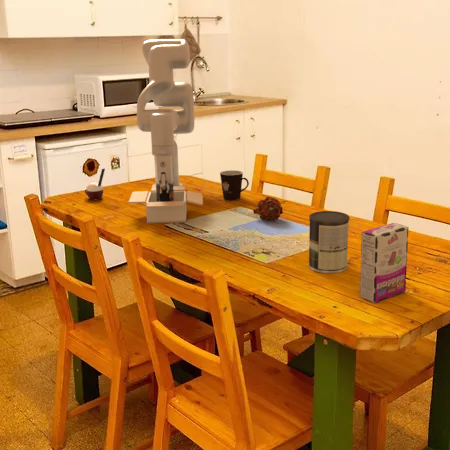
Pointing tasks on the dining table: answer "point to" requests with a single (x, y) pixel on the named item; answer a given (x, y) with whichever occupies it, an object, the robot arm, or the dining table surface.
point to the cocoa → (95, 188)
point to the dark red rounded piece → (268, 209)
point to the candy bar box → (383, 262)
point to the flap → (194, 198)
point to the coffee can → (328, 241)
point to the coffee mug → (232, 184)
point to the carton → (163, 206)
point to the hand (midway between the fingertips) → (165, 201)
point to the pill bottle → (170, 191)
